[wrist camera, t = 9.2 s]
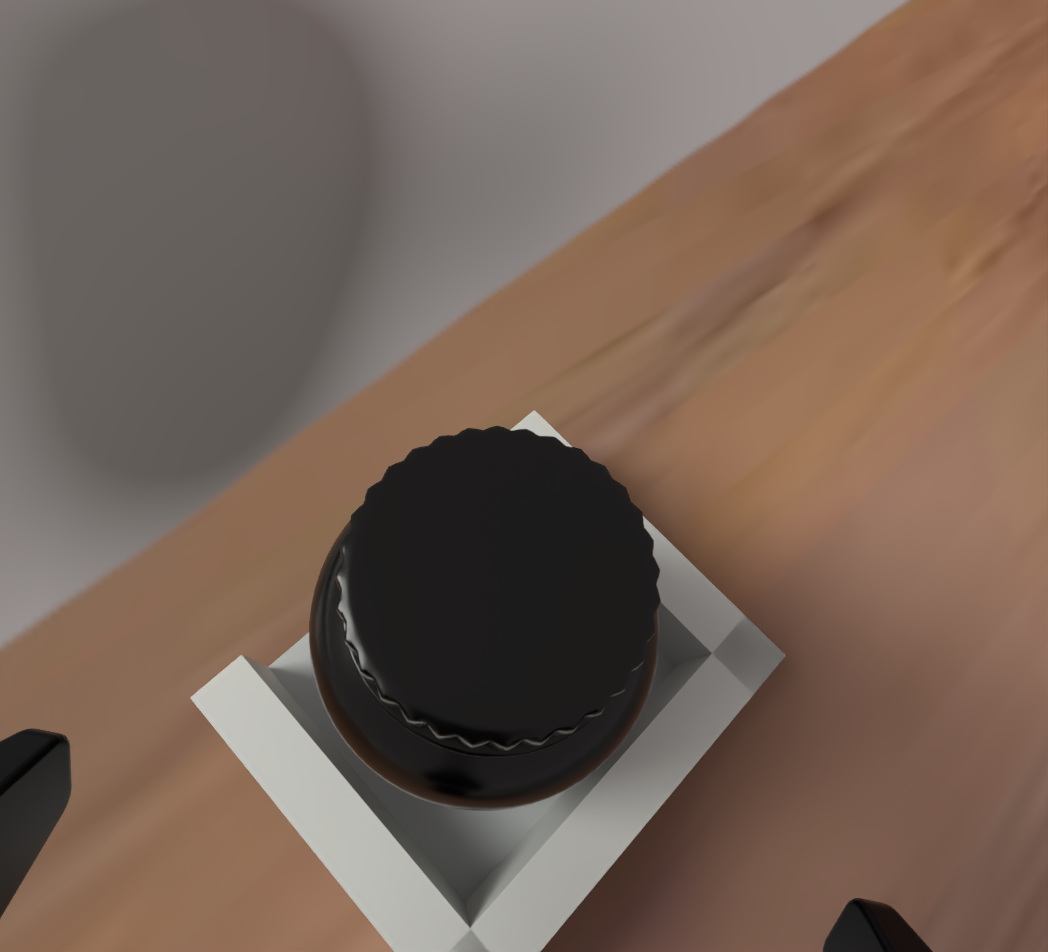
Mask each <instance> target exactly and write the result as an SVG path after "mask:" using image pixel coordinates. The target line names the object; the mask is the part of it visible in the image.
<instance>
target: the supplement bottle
mask: <svg viewBox="0 0 1048 952" xmlns="http://www.w3.org/2000/svg"><path fill="white" fill-rule="evenodd" d="M643 521H644V519H643V514H642V512H641V511H640V510H639V509H638V508H637V507H636V506H635V505H634V504H633V503H632V502H631V501H630V498H629V495H628V492H627V490H626V488H625V487H624V486H623V485H621V484H620V483H618V482H616V481H615V480H613V479H612V478H611V476H610V474H609V472H608V470H607V469H606V467H605V466H603V465H601V464H599V463H596V462H593V461H591V460H590V459H589V458H588V456H587V455H586V454H585V453H584V452H583V451H582V450H581V449H578V448H574V447H569V446H566V445H564V444H563V443H562V442H561V441H560V440H559V439H557V438H556V437H552V436H539V435H537V434H535V433H534V432H532V431H530V430H528V429H518V430H513V431H511V430H508V429H506V428H504V427H500V426H494V427H490V428H488V429H485V430H479V429H472V428H467V429H465V430H463V431H461V432H460V433H459V434H457V435H455V436H450V435H447V436H439V437H438V438H437V439H435V440H434V441H433V442H432V443H431V444H430V445H429V446H424V447H419V448H415V449H412V451H411V452H410V453H409V454H408V455H407V457H406V458H405V460H404V461H401V462H399V463H396V464H394V465H392V466H389V467H388V469H387V470H386V472H385V474H384V476H383V478H382V480H381V481H379V482H378V483H376V484H374V485H373V486H371V487H370V488H369V489H368V490H367V493H366V496H365V501H364V504H363V505H362V506H360V507H359V508H358V509H357V510H356V511H355V512H354V513H353V514H352V515H351V520H350V521H349V522H348V524H347V525H346V526H345V527H344V529H343V530H342V532H341V533H340V535H339V536H338V538H337V539H336V541H335V543H334V544H333V546H332V548H331V550H330V551H329V553H328V555H327V558H326V560H325V562H324V564H323V567H322V569H321V572H320V575H319V578H318V581H317V584H316V587H315V591H314V596H313V600H312V605H311V613H310V621H309V646H310V658H311V664H312V669H313V674H314V678H315V682H316V685H317V689H318V692H319V695H320V697H321V700H322V702H323V705H324V707H325V710H326V712H327V714H328V715H329V717H330V719H331V721H332V723H333V725H334V726H335V728H336V730H337V731H338V732H339V734H340V735H341V737H342V738H343V740H344V741H345V743H346V744H347V745H348V746H349V747H350V748H351V750H352V751H353V752H354V753H355V754H356V756H357V757H358V758H359V759H360V760H362V761H363V762H364V763H365V764H366V765H367V766H368V767H369V768H370V769H371V770H372V771H374V772H375V773H376V774H378V775H379V776H380V777H382V778H383V779H384V780H385V781H387V782H389V783H390V784H392V785H394V786H395V787H397V788H399V789H400V790H402V791H404V792H406V793H408V794H410V795H412V796H415V797H417V798H419V799H422V800H425V801H428V802H431V803H434V804H437V805H441V806H445V807H450V808H454V809H463V810H472V811H495V810H504V809H513V808H517V807H522V806H526V805H531V804H534V803H537V802H540V801H542V800H545V799H548V798H550V797H553V796H555V795H557V794H559V793H561V792H564V791H566V790H567V789H569V788H571V787H572V786H574V785H576V784H577V783H579V782H581V781H582V780H583V779H585V778H586V777H587V776H589V775H590V774H591V773H593V772H594V771H595V770H597V769H598V768H599V767H600V766H601V765H602V764H603V763H604V762H605V761H606V760H607V759H608V758H609V757H610V756H611V755H612V754H613V753H614V752H615V751H616V749H617V748H618V747H619V746H620V745H621V744H622V742H623V741H624V739H625V738H626V737H627V735H628V734H629V732H630V731H631V730H632V728H633V726H634V724H635V723H636V721H637V719H638V717H639V716H640V714H641V711H642V709H643V707H644V705H645V703H646V700H647V698H648V695H649V692H650V689H651V686H652V683H653V679H654V675H655V670H656V666H657V660H658V652H659V638H660V625H659V612H658V607H659V604H660V602H661V599H660V595H659V591H658V588H657V585H656V584H657V580H658V578H659V574H660V568H659V566H658V564H657V562H656V560H655V558H654V556H653V549H654V540H653V538H652V537H651V535H650V534H649V533H648V531H647V530H646V529H645V528H644V523H643Z"/></svg>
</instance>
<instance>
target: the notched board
mask: <svg viewBox="0 0 1048 952" xmlns="http://www.w3.org/2000/svg"><path fill="white" fill-rule="evenodd" d="M518 429H528V430H530V431H532V432H534V433H535V434H537V435H539V436H552V437H556V438H557V439H559V440H560V441H561V442H562V443H563V444H564V445H566V446H569V447H572V446H571V445H570V444H569V443H568V442H567V441H566V440H564V439H563V438H562V437H561V436H560V435H559V434H558V433H557V432H556V431H555V430H554V429H553V428H552V427H551V426H550V425H549V424H548V423H547V422H546V421H545V420H544V419H543V418H542V417H541V416H540V415H539V414H538V413H537V412H536V411H535V410H534V411H533V412H531V413H530V414H529V415H528V416H527V417H525V418H524V419H523V420H522V421H521V422H519V423H518V424H517V425H516V426H515V427H513V428H512V429H511V431H513V430H518ZM643 519H644V521H643V523H644V528H645V529H646V530H647V531H648V533H649V534H650V535H651V537H652V538H653V540H654V549H653V556H654V558H655V560H656V562H657V564H658V566H659V568H660V574H659V578H658V580H657V584H656V585H657V588H658V591H659V595H660V599H661V602H660V604H659V607H658V612H659V625H660V638H659V652H658V660H657V666H656V670H655V675H654V679H653V683H652V686H651V689H650V692H649V695H648V698H647V700H646V703H645V705H644V707H643V709H642V711H641V714H640V716H639V717H638V719H637V721H636V723H635V724H634V726H633V728H632V730H631V731H630V732H629V734H628V735H627V737H626V738H625V739H624V741H623V742H622V744H621V745H620V746H619V747H618V748H617V749H616V751H615V752H614V753H613V754H612V755H611V756H610V757H609V758H608V759H607V760H606V761H605V762H604V763H603V764H602V765H601V766H600V767H599V768H598V769H597V770H595V771H594V772H593V773H591V774H590V775H589V776H587V777H586V778H585V779H583V780H582V781H581V782H579V783H577V784H576V785H574V786H572V787H571V788H569V789H567V790H566V791H564V792H561V793H559V794H557V795H555V796H553V797H550V798H548V799H545V800H542V801H540V802H537V803H534V804H531V805H526V806H522V807H517V808H513V809H504V810H495V811H472V810H463V809H454V808H450V807H445V806H441V805H437V804H434V803H431V802H428V801H425V800H422V799H419V798H417V797H415V796H412V795H410V794H408V793H406V792H404V791H402V790H400V789H399V788H397V787H395V786H394V785H392V784H390V783H389V782H387V781H385V780H384V779H383V778H382V777H380V776H379V775H378V774H376V773H375V772H374V771H372V770H371V769H370V768H369V767H368V766H367V765H366V764H365V763H364V762H363V761H362V760H360V759H359V758H358V757H357V756H356V754H355V753H354V752H353V751H352V750H351V748H350V747H349V746H348V745H347V744H346V743H345V741H344V740H343V738H342V737H341V735H340V734H339V732H338V731H337V730H336V728H335V726H334V725H333V723H332V721H331V719H330V717H329V715H328V714H327V712H326V710H325V707H324V705H323V702H322V700H321V697H320V695H319V692H318V689H317V685H316V682H315V678H314V674H313V669H312V664H311V658H310V646H309V633H307V634H306V635H305V636H304V637H303V638H302V639H300V640H299V641H298V642H297V643H296V644H295V645H293V646H292V647H291V648H290V649H289V650H288V651H286V652H285V653H284V654H283V655H282V656H281V657H279V658H278V659H277V660H276V661H275V662H274V663H272V664H271V665H270V666H269V667H266V666H264V665H262V664H260V663H258V662H256V661H254V660H252V659H249V658H247V657H245V656H243V655H241V656H239V657H238V658H237V659H236V660H235V661H233V662H232V663H231V664H230V665H229V666H227V667H226V668H225V669H224V670H223V671H222V672H220V673H219V674H218V675H217V676H216V677H214V678H213V679H212V680H211V681H210V682H208V683H207V684H206V685H205V686H204V687H202V688H201V689H200V690H199V691H198V692H196V693H195V694H194V695H193V696H192V697H190V698H191V700H192V701H193V702H194V703H195V705H196V706H197V707H198V708H199V709H200V711H201V712H202V713H203V714H204V716H205V717H206V718H207V719H208V721H209V722H210V723H211V724H212V726H213V727H214V728H215V729H216V731H217V732H218V733H219V734H220V736H221V737H222V738H223V739H224V741H225V742H226V743H227V744H228V746H229V747H230V748H231V749H232V751H233V752H234V753H235V754H236V755H237V757H238V758H239V759H240V760H241V762H242V763H243V764H244V765H245V767H246V768H247V769H248V770H249V772H250V773H251V774H252V775H253V777H254V778H255V779H256V780H257V782H258V783H259V784H260V785H261V787H262V788H263V789H264V790H265V792H266V793H267V794H268V795H269V797H270V798H271V799H272V800H273V802H274V803H275V804H276V805H277V806H278V808H279V809H280V810H281V811H282V813H283V814H284V815H285V816H286V818H287V819H288V820H289V821H290V823H291V824H292V825H293V826H294V828H295V829H296V830H297V831H298V833H299V834H300V835H301V836H302V838H303V839H304V840H305V841H306V843H307V844H308V845H309V846H310V848H311V849H312V850H313V851H314V852H315V854H316V855H317V856H318V857H319V859H320V860H321V861H322V862H323V864H324V865H325V866H326V867H327V869H328V870H329V871H330V872H331V874H332V875H333V876H334V877H335V879H336V880H337V881H338V882H339V884H340V885H341V886H342V887H343V889H344V890H345V891H346V892H347V894H348V895H349V896H350V897H351V899H352V900H353V901H354V902H355V903H356V905H357V906H358V907H359V908H360V910H361V911H362V912H363V913H364V915H365V916H366V917H367V918H368V920H369V921H370V922H371V923H372V925H373V926H374V927H375V928H376V930H377V931H378V932H379V933H380V935H381V936H382V937H383V938H384V940H385V941H386V942H387V943H388V945H389V946H390V947H391V948H392V949H393V951H394V952H540V951H541V950H542V949H543V948H544V947H545V945H546V944H547V943H548V942H549V941H550V939H551V938H552V937H553V936H554V935H555V933H556V932H557V931H558V930H559V929H560V927H561V926H562V925H563V924H564V923H565V921H566V920H567V919H568V918H569V917H570V915H571V914H572V913H573V912H574V911H575V909H576V908H577V907H578V906H579V904H580V903H581V902H582V901H583V900H584V898H585V897H586V896H587V895H588V894H589V892H590V891H591V890H592V889H593V888H594V886H595V885H596V884H597V883H598V882H599V880H600V879H601V878H602V877H603V876H604V874H605V873H606V872H607V871H608V870H609V868H610V867H611V866H612V865H613V863H614V862H615V861H616V860H617V859H618V857H619V856H620V855H621V854H622V853H623V851H624V850H625V849H626V848H627V847H628V845H629V844H630V843H631V842H632V841H633V839H634V838H635V837H636V836H637V835H638V833H639V832H640V831H641V830H642V829H643V827H644V826H645V825H646V824H647V822H648V821H649V820H650V819H651V818H652V816H653V815H654V814H655V813H656V812H657V810H658V809H659V808H660V807H661V806H662V804H663V803H664V802H665V801H666V800H667V798H668V797H669V796H670V795H671V794H672V792H673V791H674V790H675V789H676V788H677V786H678V785H679V784H680V783H681V781H682V780H683V779H684V778H685V777H686V775H687V774H688V773H689V772H690V771H691V769H692V768H693V767H694V766H695V765H696V763H697V762H698V761H699V760H700V759H701V757H702V756H703V755H704V754H705V753H706V751H707V750H708V749H709V748H710V747H711V745H712V744H713V743H714V742H715V741H716V739H717V738H718V737H719V736H720V734H721V733H722V732H723V731H724V730H725V728H726V727H727V726H728V725H729V724H730V722H731V721H732V720H733V719H734V718H735V716H736V715H737V714H738V713H739V712H740V710H741V709H742V708H743V707H744V706H745V704H746V703H747V702H748V701H749V700H750V698H751V697H752V696H753V695H754V693H755V692H756V691H757V690H758V689H759V687H760V686H761V685H762V684H763V683H764V681H765V680H766V679H767V678H768V677H769V675H770V674H771V673H772V672H773V671H774V669H775V668H776V667H777V666H778V665H779V663H780V662H781V661H782V660H783V659H784V657H785V656H786V655H785V654H784V653H783V652H782V651H781V650H780V649H779V648H778V647H777V646H776V645H775V644H774V643H773V642H772V641H771V640H770V639H769V638H768V637H767V636H766V635H765V634H764V633H763V632H762V631H761V630H759V629H758V628H757V627H756V626H755V625H754V624H753V623H752V622H751V621H750V620H749V619H748V618H747V617H746V616H745V615H744V614H743V613H742V612H741V611H740V610H739V609H738V608H737V607H736V606H735V605H734V604H733V603H732V602H731V601H730V600H729V599H728V598H727V597H726V596H725V595H724V594H723V593H722V592H720V591H719V590H718V589H717V588H716V587H715V586H714V585H713V584H712V583H711V582H710V581H709V580H708V579H707V578H706V577H705V576H704V575H703V574H702V573H701V572H700V571H699V570H698V569H697V568H696V567H695V566H694V565H693V564H692V563H691V562H690V561H689V560H688V559H687V558H686V557H685V556H684V555H683V554H681V553H680V552H679V551H678V550H677V549H676V548H675V547H674V546H673V545H672V544H671V543H670V542H669V541H668V540H667V539H666V538H665V537H664V536H663V535H662V534H661V533H660V532H659V531H658V530H657V529H656V528H655V527H654V526H653V525H652V524H651V523H650V522H649V521H648V520H647V519H646V518H645V517H644V516H643Z"/></svg>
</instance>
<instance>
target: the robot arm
mask: <svg viewBox="0 0 1048 952" xmlns="http://www.w3.org/2000/svg"><path fill="white" fill-rule="evenodd" d="M71 786H72V785H71V760H70V743H69V740H68V739H67V737H66V736H65V735H63V734H59V733H54V732H50V731H45V730H40V729H26V730H23V731H20V732H18V733H16V734H14V735H12V736H10V737H8V738H6V739H4V740H2V741H0V918H1V916H2V915H3V913H4V911H5V910H6V908H7V906H8V905H9V903H10V901H11V900H12V898H13V896H14V895H15V893H16V891H17V890H18V888H19V886H20V884H21V883H22V881H23V879H24V878H25V876H26V874H27V873H28V871H29V869H30V868H31V866H32V864H33V863H34V861H35V859H36V858H37V856H38V854H39V852H40V851H41V849H42V847H43V846H44V844H45V842H46V841H47V839H48V837H49V836H50V834H51V832H52V831H53V829H54V827H55V826H56V824H57V822H58V820H59V819H60V817H61V815H62V814H63V812H64V810H65V808H66V806H67V804H68V801H69V798H70V794H71ZM823 952H933V951H932V950H931V949H930V948H929V947H928V946H927V945H926V943H925V942H924V941H923V940H922V939H921V938H920V937H919V936H918V935H917V933H916V932H915V931H914V930H913V929H912V928H911V927H910V926H909V925H908V923H907V922H906V921H905V920H904V919H903V918H902V917H901V916H900V915H899V913H898V912H897V911H895V910H894V909H893V908H892V907H891V906H889V905H887V904H884V903H881V902H876V901H871V900H866V899H861V898H855V899H853V900H851V901H849V902H848V904H847V905H846V907H845V908H844V910H843V912H842V913H841V915H840V917H839V918H838V920H837V922H836V923H835V925H834V927H833V928H832V930H831V932H830V933H829V935H828V937H827V938H826V940H825V944H824V947H823Z"/></svg>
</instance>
